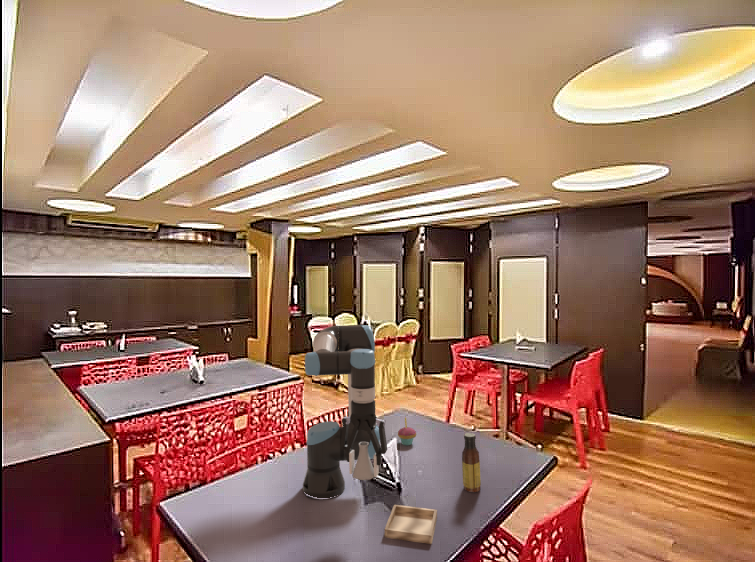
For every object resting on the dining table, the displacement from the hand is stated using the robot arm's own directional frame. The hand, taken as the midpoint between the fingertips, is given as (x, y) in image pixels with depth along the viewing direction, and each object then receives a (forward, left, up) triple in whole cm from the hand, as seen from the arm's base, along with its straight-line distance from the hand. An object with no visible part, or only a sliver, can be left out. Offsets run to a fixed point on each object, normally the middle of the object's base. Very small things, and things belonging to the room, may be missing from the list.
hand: (364, 473), depth 136 cm
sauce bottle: (+31, +30, -16) cm, 47 cm away
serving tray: (+14, +2, -16) cm, 22 cm away
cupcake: (+1, +66, -16) cm, 68 cm away
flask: (0, 0, -1) cm, 1 cm away
